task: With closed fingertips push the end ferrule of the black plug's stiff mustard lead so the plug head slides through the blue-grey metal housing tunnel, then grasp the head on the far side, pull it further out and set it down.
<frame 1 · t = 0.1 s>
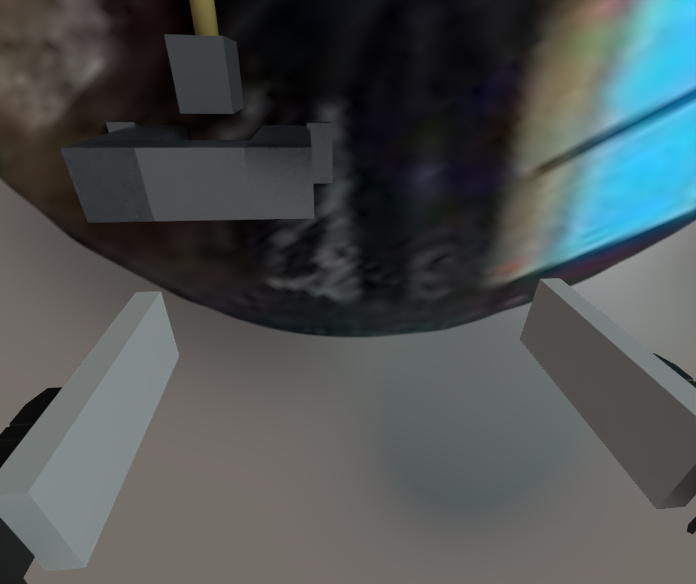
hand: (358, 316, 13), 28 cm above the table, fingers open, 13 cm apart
plug: (217, 75, 32), on the table
housing: (228, 153, 35), on the table
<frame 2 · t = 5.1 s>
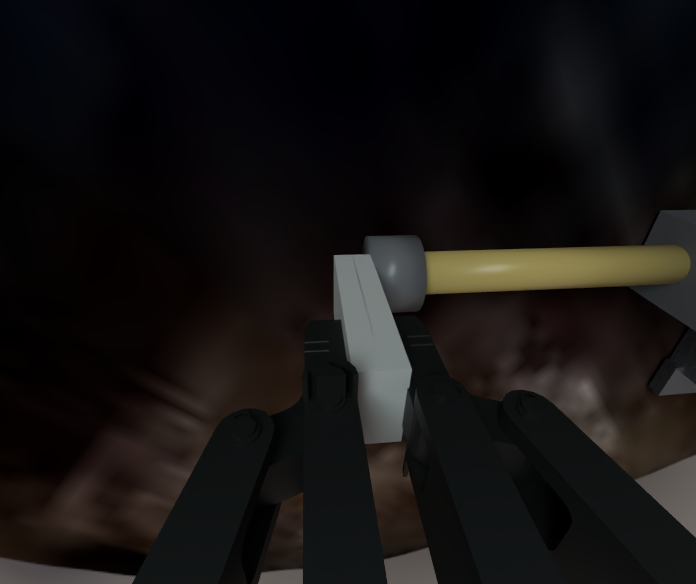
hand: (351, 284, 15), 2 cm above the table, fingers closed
plug: (686, 248, 18), on the table, touching gripper
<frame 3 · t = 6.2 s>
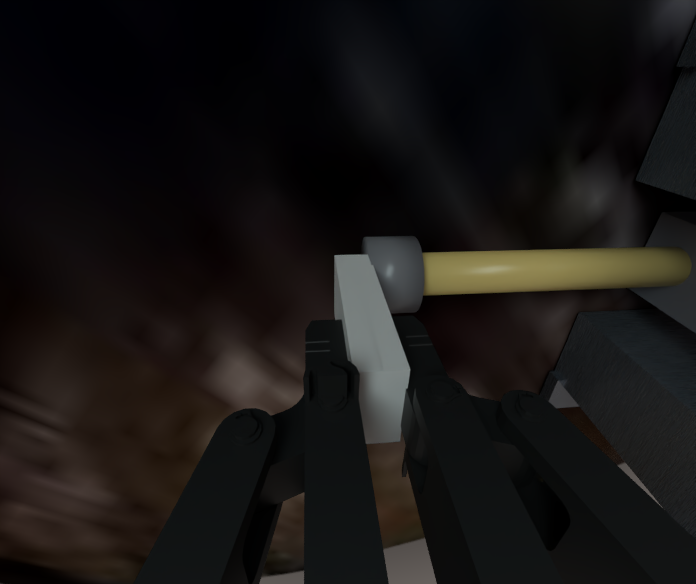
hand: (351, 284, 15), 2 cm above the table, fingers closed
plug: (688, 250, 18), on the table, touching gripper
housing: (651, 251, 18), on the table
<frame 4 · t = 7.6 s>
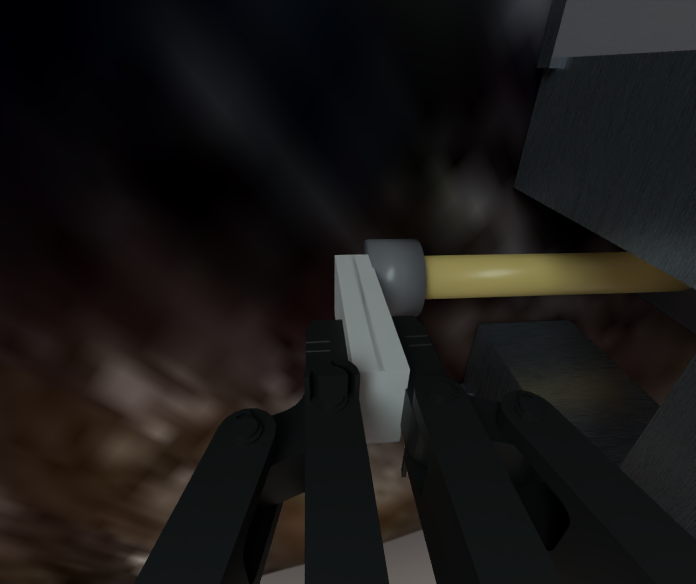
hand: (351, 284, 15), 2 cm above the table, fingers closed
housing: (544, 261, 17), on the table
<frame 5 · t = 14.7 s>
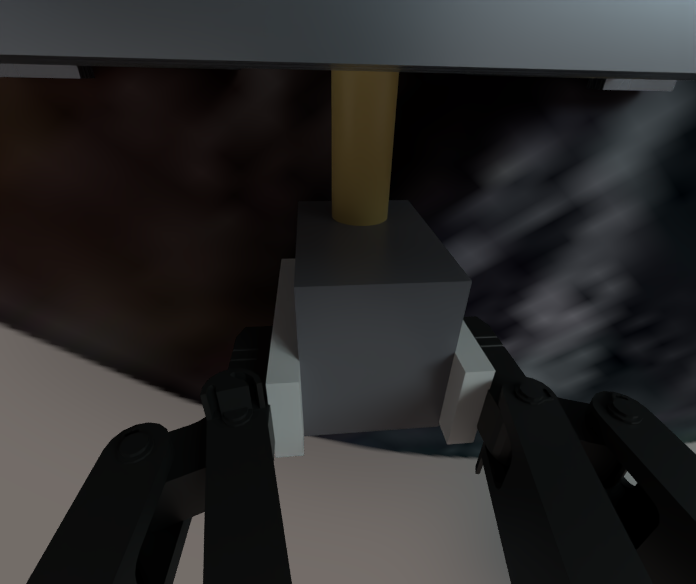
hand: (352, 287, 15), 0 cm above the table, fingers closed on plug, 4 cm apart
plug: (352, 262, 14), on the table, touching gripper
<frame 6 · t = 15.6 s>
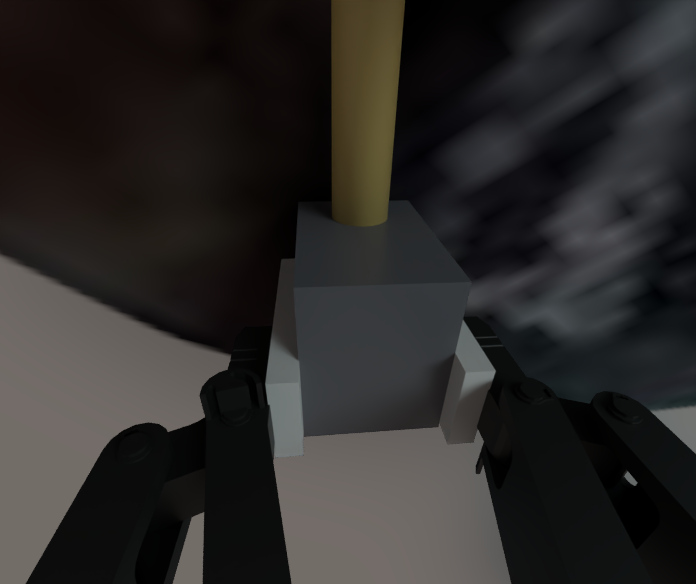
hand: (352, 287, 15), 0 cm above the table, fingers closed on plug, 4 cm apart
plug: (352, 262, 14), on the table, touching gripper
when the fingers open (0 cm above the table, at t = 16.9 s): plug stays where it is, on the table.
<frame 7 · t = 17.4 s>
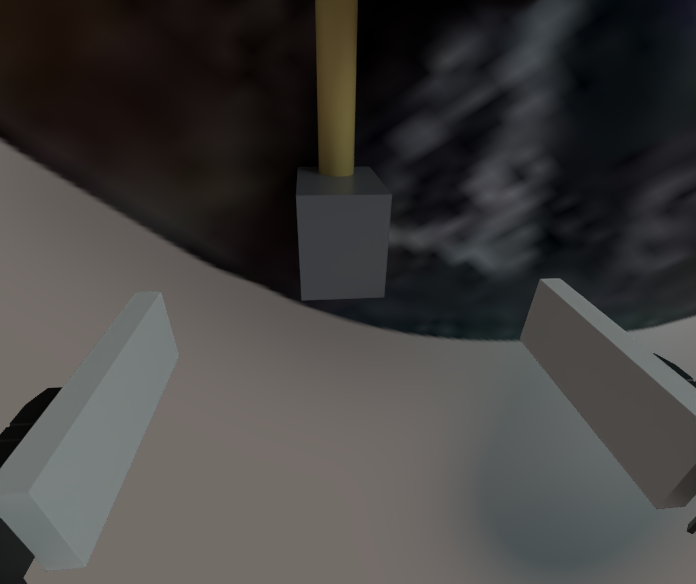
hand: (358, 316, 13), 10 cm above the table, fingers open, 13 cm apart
plug: (334, 210, 21), on the table
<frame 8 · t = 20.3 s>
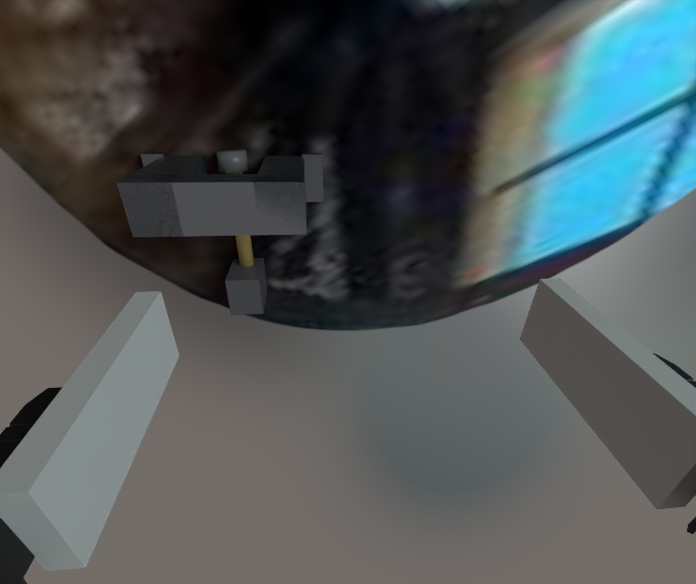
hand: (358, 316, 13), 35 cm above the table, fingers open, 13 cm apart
plug: (250, 274, 50), on the table
housing: (238, 177, 43), on the table
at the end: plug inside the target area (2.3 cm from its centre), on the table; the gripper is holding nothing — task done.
